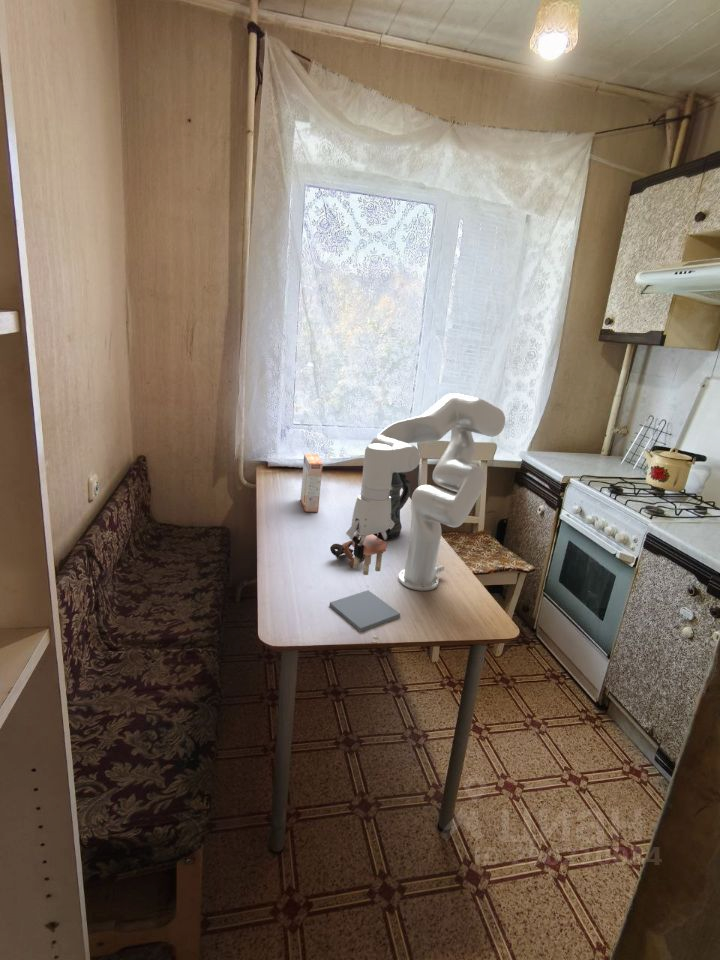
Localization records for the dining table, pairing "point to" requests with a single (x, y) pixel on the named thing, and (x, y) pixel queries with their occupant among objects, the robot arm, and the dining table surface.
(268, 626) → the dining table surface
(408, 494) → the beer stein
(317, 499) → the cracker box
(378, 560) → the stool
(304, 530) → the dining table surface
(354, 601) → the slate mat
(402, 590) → the dining table surface
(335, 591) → the dining table surface
